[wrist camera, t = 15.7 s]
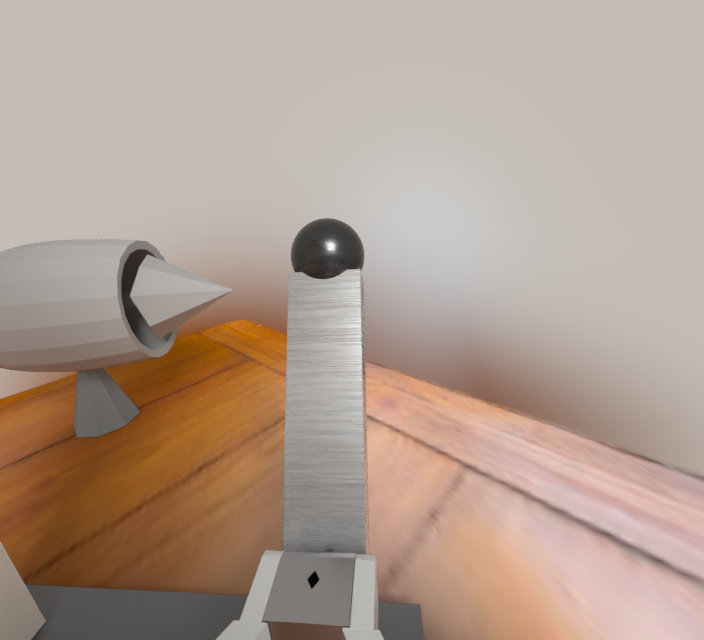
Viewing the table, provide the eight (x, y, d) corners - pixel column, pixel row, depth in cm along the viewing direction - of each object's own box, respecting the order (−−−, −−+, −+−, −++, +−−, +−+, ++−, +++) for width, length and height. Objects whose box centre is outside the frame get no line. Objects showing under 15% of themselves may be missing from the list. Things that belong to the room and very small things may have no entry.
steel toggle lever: (402, 1031, 7) (375, 199, 11) (235, 1002, 7) (267, 207, 11) (399, 862, 10) (378, 235, 13) (275, 846, 10) (290, 241, 14)
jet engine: (119, 512, 23) (18, 254, 17) (-18, 445, 31) (-118, 255, 25) (259, 397, 36) (227, 226, 30) (136, 371, 44) (92, 233, 38)
